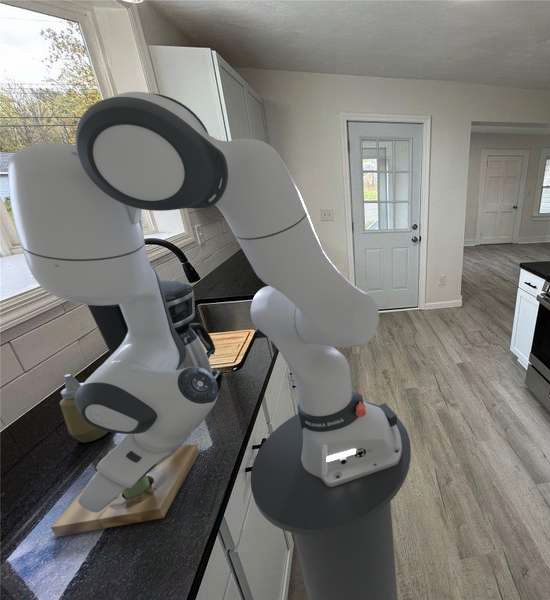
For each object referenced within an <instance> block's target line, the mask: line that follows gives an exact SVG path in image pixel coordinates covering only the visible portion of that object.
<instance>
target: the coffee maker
mask: <svg viewBox="0 0 550 600" xmlns="http://www.w3.org/2000/svg"><path fill="white" fill-rule="evenodd" d="M160 281H161V285H162V288H163V291H164V295H165V299H166V303H167V307H168V310H169V314H170V318H171V321H172V324H173V327H174V329H175V331H176V332H177V334H178V335H179V337H180V338H181V340H182V341H183V343H184V345H185V348H186V358H185V360H184V362H183V363H182V364H181V366H180V367H179V368H178V369H177V370H181V369H184V368H187V367H200V368H203V369H205V370H207V371H208V372H210V373H211V374H212V375H213V376H214V378H215V380H216V381H217V379H218V378H219V376H220V375H221V371H220V370H219V369H212V366H211V362H210V360H209V359H210V357H211V356H212V355H215V352H216V347H215V343H214V341H213V339H212V337H211V335H210V333H209V332H208V331H207V329H206V328H205V327H204V326H203V324H202V323H199V322H193V323H192V321H193V320H194V318H195V317H196V314H195V313H196V311H195V309H196V308H195V294H194V289H193V286H192V285H191V284H188V283H185V282H179V281H177V280H161V279H160ZM87 307H88V310H89V312H90V314H91V316H92V318H93V320H94V322H95V324H96V326H97V328H98V330H99V332H100V335H101V336H102V338H103V340H104V343H105V345H106V347H107V349H108V351H109V353H110V356H111V355H112V354H113V353H114V352H115V351H116V350H117V349H118V348H119V346H120V345H121V344H122V342H123V341H124V339H125V337H126V335H127V333H128V326H127V324H126V321H125V319H124V316H123V313H122V311H121V308H120V306H119V304H117V305H104V306H97V305H87ZM218 370H219V371H218Z"/></svg>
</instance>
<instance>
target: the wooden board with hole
mask: <svg viewBox="0 0 550 600" xmlns="http://www.w3.org/2000/svg"><path fill="white" fill-rule="evenodd" d="M199 454H200V448H199V446H198V444H197V443H194V444H189V445H181V446H180V448H179V449H178V450H177V451H176V452H175V453H174V454H173V455H172V456H170V457H169V458H167V459H166V460H164V461H163V462H162V463H160V464H159V465H157V466H156V467H154V468H153V469H152V470H151V471H150V472H148V473H147V474H146V475H147V478H148V480H149V482H150V485H151V487H150V488H149V489H148V490H147V491H146V492H144V493H143V494H141V495H139V496H137V497H134V498H131V499H126V498H125V495H124V493H123V492H122V493H121V494H120V495H119V496H117V497H116V498H115V499H114V500H113V501H112V502H111V503H110V504H108V505H107V506H106V507H105V508H104V509H103V510H101V511H100V512H97V513H94V512H91V511H89V510H87V509H86V508H84V507H82V506H81V505H80V504H79V503H78V500H79V497H80V496H81V494H82V492H83V491H84V489H85V488H86V486H85V487H84V488H83V489H82V490H81V492H79V494H78V495H77V496H76V498H74V499H73V501H72V502H71V503H70V504H69V505H68V507H67V508H66V509H65V510H64V511H63V513H62V514H61V515H60V516H59V517H58V518H57V519H56V521H55V522H54V523H53V524H52V525H51V526H50V529H51V530H52V533H53V535H54V536H55V537H62V536H63V537H64V536H69V535H74V534H81V533H85V532H92V531H97V530H102V529H108V528H114V527H119V526H125V525H131V524H136V523H142V522H147V521H153V520H154V521H155V520H159V519H164V518H165V516H166V514H167V512H168V510H169V509H170V507H171V505H172V503H173V502H174V500H175V498H176V496H177V494H178V492H179V491H180V489H181V487H182V485H183V483H184V482H185V480H186V478H187V476H188V474H189V472H190V471H191V469H192V467H193V465H194V463H195V462H196V460H197V458H198V456H199Z"/></svg>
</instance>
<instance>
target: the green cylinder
mask: <svg viewBox="0 0 550 600" xmlns="http://www.w3.org/2000/svg"><path fill="white" fill-rule="evenodd" d="M112 449H113V448H111V449H110V450H108V452H107V453H106V455H107V454H108V453H109V452H110V451H111V450H112ZM150 487H151V485H150V482H149V480H148V478H147V475H145V476H144V477H143V478H142V479H141V480H140V481H139V482H138V483H136V484H135V485H134V486H133V487H132V488H126V489H125V490H124V491H123V493H124V495H125V498H126V499H131V498H134V497H137V496H139V495H141V494H143V493H144V492H146V491H147V490H148V489H149V488H150Z"/></svg>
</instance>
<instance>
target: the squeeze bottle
mask: <svg viewBox="0 0 550 600" xmlns="http://www.w3.org/2000/svg"><path fill="white" fill-rule="evenodd" d="M83 383H84V382H79V381H78V379H76V378H75V377H74V376H73V374H71V373H69V374H65V375H64V385H65V388H63V389H62V390H61V391H60V395H61V397H62V399H61V400H60V402H59V406H60V410H61V412H62V415H63V419H64V422H65V425H66V428H67V432H68V435H69V436H70V435H71V437H73V438H74V439H76V440H78V441H79V442H80V443H90V442H93V441H96V440H98V439H100V438H102V437H104V436H105V435H107V434H108V433H110V432H109V431H105V430H102V429H99V428H97V427H94V426H92V425H90V424H89V423H88V422H86V420H85V419H84V418H83V417H82V416H81V415H80V413H79V412H78V410H77V408H76V405H75V392H76V391H77V389H78V388H79V387H80V386H81V385H82V384H83Z"/></svg>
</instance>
